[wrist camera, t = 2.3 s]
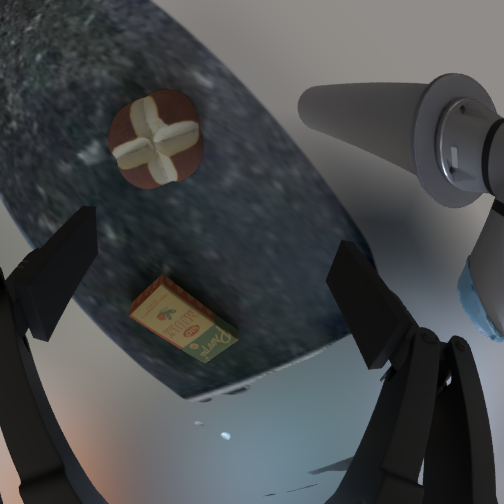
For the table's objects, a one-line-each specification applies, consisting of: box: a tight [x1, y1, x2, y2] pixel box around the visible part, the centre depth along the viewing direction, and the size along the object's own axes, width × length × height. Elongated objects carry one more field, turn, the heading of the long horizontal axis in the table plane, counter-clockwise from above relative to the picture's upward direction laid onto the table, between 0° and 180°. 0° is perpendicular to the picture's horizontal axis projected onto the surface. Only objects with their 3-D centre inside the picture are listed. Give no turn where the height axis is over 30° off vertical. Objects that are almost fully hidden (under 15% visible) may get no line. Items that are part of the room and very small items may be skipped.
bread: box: [108, 90, 203, 189], centre depth 28 cm, size 11×11×5 cm
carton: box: [129, 274, 239, 363], centre depth 43 cm, size 8×16×4 cm, turn 40°
